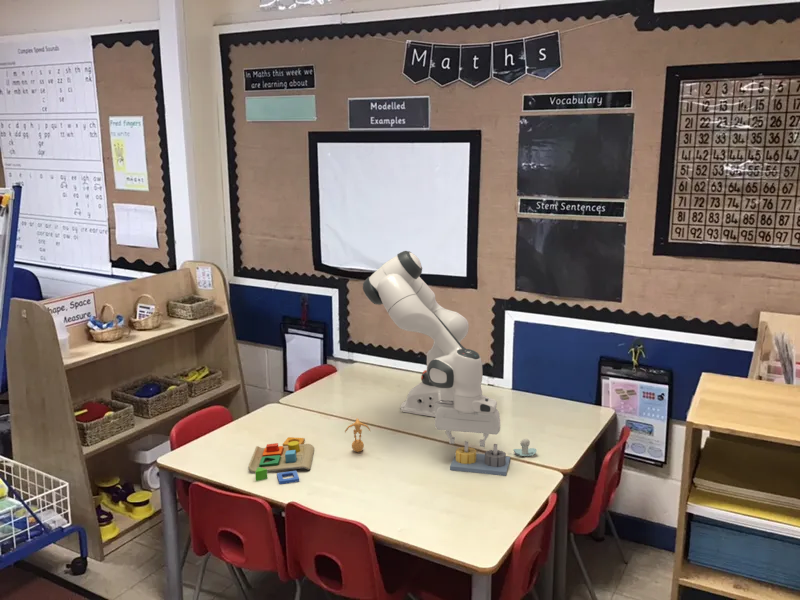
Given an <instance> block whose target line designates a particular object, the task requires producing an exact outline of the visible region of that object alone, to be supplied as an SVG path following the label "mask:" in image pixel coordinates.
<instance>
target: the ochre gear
mask: <svg viewBox="0 0 800 600" xmlns="http://www.w3.org/2000/svg"><path fill="white" fill-rule="evenodd" d="M477 454H478V453H477V449H475V448H474V447H470V446H468V452H464V446H461V447H458V448H456V449H455V455H456V461H457V462H459V463H462V464H471V463H474V462H476V456H477Z"/></svg>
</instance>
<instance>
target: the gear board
mask: <svg viewBox="0 0 800 600" xmlns="http://www.w3.org/2000/svg"><path fill="white" fill-rule="evenodd" d="M463 447H464V452H468V447H469V441H468V440H465V441H464V446H463ZM492 448H493V449H490V450H486V451H485V453H477V456H476V462H474V463H471V464H462V463H459V462H457V461H456V454H455V455H454V457H453V459H452V461H451V463H450V466H449V470H450V471H454V472H455V471H456V472H466V473H475V474H485V475H493V476H496V475H497V476H503V477H504V476H505V477H506V476H507V473H508V470H509V466H510V461H511V456H507V454H506V452H504V451H503V450H500V449H498V443H493V447H492Z"/></svg>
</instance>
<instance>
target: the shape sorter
mask: <svg viewBox="0 0 800 600" xmlns="http://www.w3.org/2000/svg"><path fill="white" fill-rule="evenodd" d="M304 441H305V442H306V438H305V437H293V436H292V437H290V436H289V437H287V438H286V439H285V441H284V442H282V445H280V446H279V443H277V442H276V443H267V444H266V447H262V446H261V447H260V446H259V445H258V446H257V445H256V446H255V448H254V451H253V454H252V456H251V459H250V461H249V463H248V467H247V468H248V470H249V472H250V473H254V474H255V482H259V481H265V480H267V479H268V477H269V476H268V472H277V473H276V479H277V483H278V484H279V485H287V484H291V483H293V484H294V483H298V482H300V476H299V474H298V471H297V470H300V469H305V470H307V471H310V470H311V467H312V464H313V460H314V459H313V457H314V452H315V447H314V445H313V444H311V443H305V442H304ZM289 470H291V471H289ZM279 471H282V472H279ZM286 477H288V478H286Z"/></svg>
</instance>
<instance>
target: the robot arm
mask: <svg viewBox="0 0 800 600" xmlns="http://www.w3.org/2000/svg"><path fill="white" fill-rule="evenodd" d="M422 273H423V267H422V263H421V261H420V259H419V258H418V257H417V255H415V254H414V253H412V252H411V251H409V250H403V251H401V252H398V253H397V255H395V256H394V257H392V258H391V259H389V260H387V261H386V262H384V263H383V264H382V265H381V266H380V267H379V268H378V269H377V270H375V271H374V272H373V273H372V274H371V275H370V276H367V278H366V279H365V280H364V281H363V283H362V290H363V293H364V295H365V297H366V298H367V299H368V301H370V302H371V303H372V304H374V305H377V306H381V305H383V307H384V309H385V310H386V313H388V316H389V317H390V319H391V320H392V322H393V323H394V324H395V325H396V326H397V327H398V328H399V329H401V330H403V331H407V332H413V333H420V334H423V335H425V336H428V337H429V338H431V339H432V340H433V344H432V346H431V348H430V349H429V350H428V351H427V353H426V369H425V370H423V372H422V374H421V375H420V380H421V382H419V383H418V384H417V385H415V386H414V387H412V388H411V389H410V390H409V391H408V393H407V397H406V400H405V401H403V402H402V403H401V405H400V408H401V409H400V411H401V412H402V411H403V413H407V414H416V415H421V416H427V417H434V428H435V429H436V430H439V431H440V430H441V431H445V434H446V436H447V437H448V439H449V443H448V444H451V445H455V443H456V436H453V435H452V431H453V432H464V433H474V434H482V435H483V438H482V439H479V447H480V448H481V447H482V448H485V446H486V441H487V439H488V438H489V435H496V436H497V435H498V434H499V433H500V432H501V417H500V412H499V410H498V409H497V404H498V403H497V402H498V401H497V400H496V399H494V398H491V397H489V396H486V395H483V390H482V382H483V363H482V358H481V357H482V356H481V355H480V354H479V352H477V351H476V350H474V349H470V348H466V347H465V346H463V345H462V343H461V341H462V340H464V339H465V337H467V335H468V334H469V333H468V332H469V327H470V324H469V321H468V319H467V318H466V317H464V316H463V315H462V314H460V313H459V312H458V311H453V310H451V309H447V308H445V307H443V306H442V305H441V304H439V303H438V302H437V300H436V294H435V291H433V290H432V289H431V287H430V286H429V285H428V284H427V283H426V282H425V281H424V280H423V279H422V277H420V276H421V275H422Z"/></svg>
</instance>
